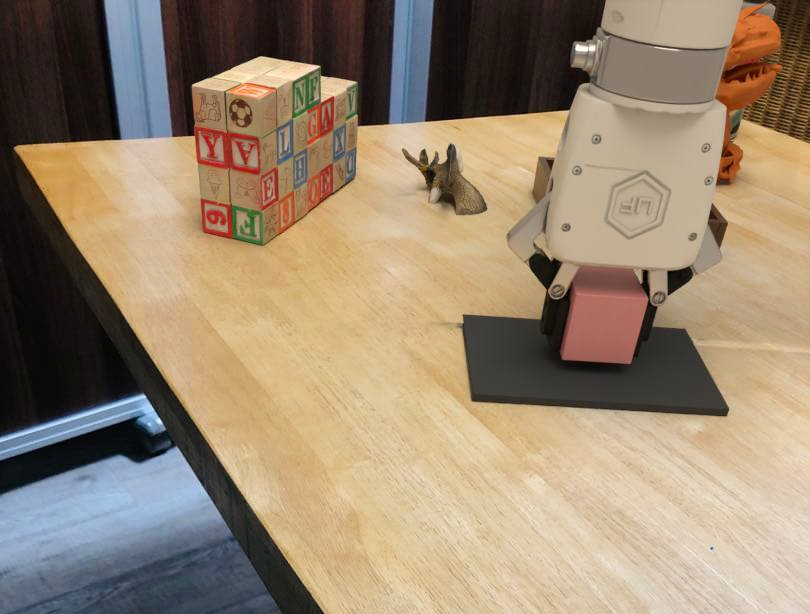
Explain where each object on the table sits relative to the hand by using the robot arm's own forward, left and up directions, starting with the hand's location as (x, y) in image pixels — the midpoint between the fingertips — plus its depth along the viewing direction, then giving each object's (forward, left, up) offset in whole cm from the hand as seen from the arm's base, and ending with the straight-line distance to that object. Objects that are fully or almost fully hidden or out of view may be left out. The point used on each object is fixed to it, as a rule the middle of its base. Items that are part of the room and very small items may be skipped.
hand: (591, 343), depth 63 cm
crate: (-8, -28, -2) cm, 29 cm away
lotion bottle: (-29, -66, -2) cm, 72 cm away
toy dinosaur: (-21, -46, -2) cm, 51 cm away
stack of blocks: (+25, -29, -2) cm, 38 cm away
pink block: (0, 0, 0) cm, 0 cm away
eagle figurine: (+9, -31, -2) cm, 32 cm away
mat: (0, 0, -2) cm, 2 cm away
